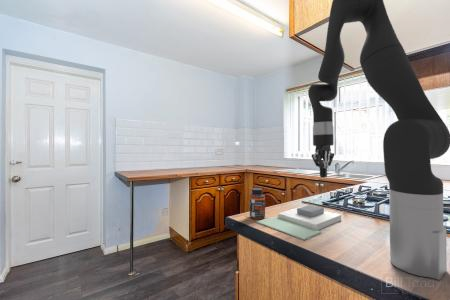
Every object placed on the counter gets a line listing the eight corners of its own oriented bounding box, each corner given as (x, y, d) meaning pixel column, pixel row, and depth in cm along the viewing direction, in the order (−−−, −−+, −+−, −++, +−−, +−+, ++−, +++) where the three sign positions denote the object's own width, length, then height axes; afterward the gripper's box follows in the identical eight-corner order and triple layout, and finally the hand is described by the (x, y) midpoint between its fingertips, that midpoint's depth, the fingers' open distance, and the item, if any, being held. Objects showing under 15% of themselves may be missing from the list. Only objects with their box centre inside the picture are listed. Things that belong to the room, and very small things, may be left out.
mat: (321, 232, 72) (321, 231, 72) (304, 240, 66) (304, 238, 66) (273, 217, 88) (273, 216, 88) (256, 222, 83) (256, 221, 83)
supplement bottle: (254, 220, 84) (253, 190, 84) (247, 216, 90) (246, 188, 90) (268, 218, 87) (267, 189, 86) (260, 214, 92) (259, 186, 92)
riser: (341, 220, 83) (341, 214, 83) (316, 230, 73) (315, 224, 73) (303, 210, 96) (303, 205, 96) (278, 218, 86) (277, 213, 86)
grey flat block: (323, 213, 85) (323, 208, 85) (311, 217, 80) (311, 212, 80) (309, 209, 90) (309, 204, 90) (297, 213, 85) (297, 208, 85)
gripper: (322, 133, 83) (323, 180, 83) (340, 133, 91) (341, 176, 91) (304, 134, 89) (305, 177, 90) (323, 134, 97) (323, 174, 97)
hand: (323, 177), depth 90 cm, fingers closed
